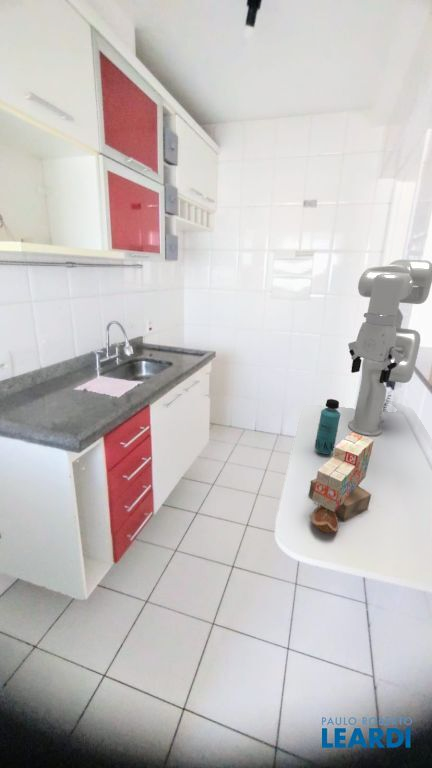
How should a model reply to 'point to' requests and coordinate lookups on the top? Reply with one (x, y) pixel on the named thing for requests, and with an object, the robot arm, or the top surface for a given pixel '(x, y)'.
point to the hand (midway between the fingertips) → (368, 376)
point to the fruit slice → (325, 519)
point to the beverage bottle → (328, 427)
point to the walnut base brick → (350, 503)
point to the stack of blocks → (342, 471)
